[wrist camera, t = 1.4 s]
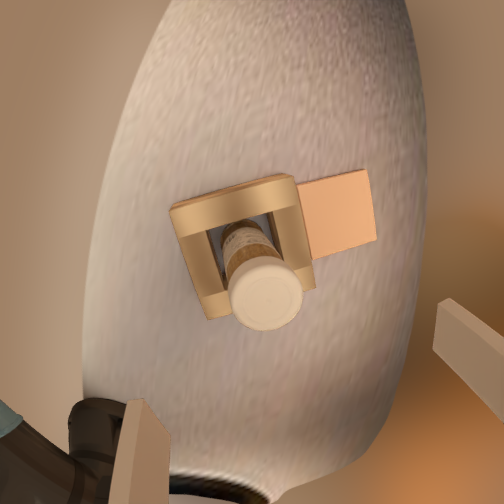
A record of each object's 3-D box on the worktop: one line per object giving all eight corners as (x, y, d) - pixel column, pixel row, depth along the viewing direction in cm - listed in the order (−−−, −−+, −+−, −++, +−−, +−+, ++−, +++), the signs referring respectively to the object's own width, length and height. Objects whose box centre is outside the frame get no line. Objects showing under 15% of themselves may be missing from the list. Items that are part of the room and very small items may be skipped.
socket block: (206, 301, 32) (207, 320, 28) (173, 203, 28) (168, 211, 24) (303, 272, 32) (316, 287, 29) (282, 173, 29) (293, 176, 25)
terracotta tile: (310, 257, 32) (312, 260, 31) (295, 185, 29) (297, 186, 29) (373, 237, 32) (376, 239, 32) (363, 169, 30) (366, 169, 29)
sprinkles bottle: (242, 269, 31) (266, 345, 19) (210, 240, 30) (214, 304, 17) (273, 239, 31) (319, 298, 18) (242, 208, 29) (270, 250, 17)
